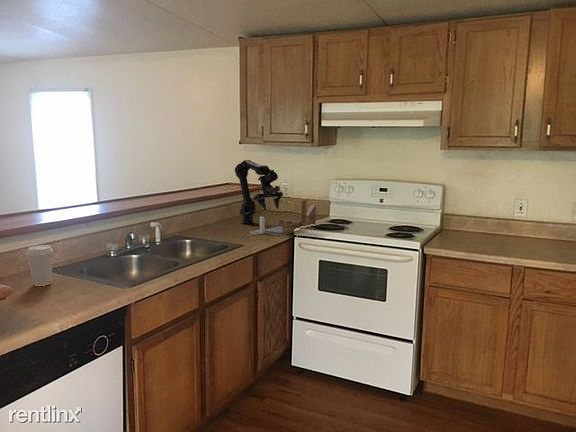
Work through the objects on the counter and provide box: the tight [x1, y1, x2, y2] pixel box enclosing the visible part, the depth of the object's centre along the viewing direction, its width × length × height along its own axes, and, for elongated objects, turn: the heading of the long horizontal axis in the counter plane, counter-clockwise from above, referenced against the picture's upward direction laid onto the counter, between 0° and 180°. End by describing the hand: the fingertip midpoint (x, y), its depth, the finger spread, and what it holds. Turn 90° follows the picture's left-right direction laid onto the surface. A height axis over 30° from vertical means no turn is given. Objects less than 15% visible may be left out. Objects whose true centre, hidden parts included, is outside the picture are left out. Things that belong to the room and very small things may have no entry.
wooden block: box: [300, 199, 317, 226], centre depth 307 cm, size 4×11×18 cm, turn 131°
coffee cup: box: [25, 244, 54, 284], centre depth 189 cm, size 10×10×15 cm
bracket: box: [249, 216, 266, 236], centre depth 288 cm, size 4×8×10 cm, turn 110°
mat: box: [265, 225, 295, 235], centre depth 298 cm, size 16×18×1 cm
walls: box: [278, 219, 301, 233], centre depth 298 cm, size 16×18×4 cm
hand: (271, 209), depth 298 cm, fingers open, 9 cm apart
